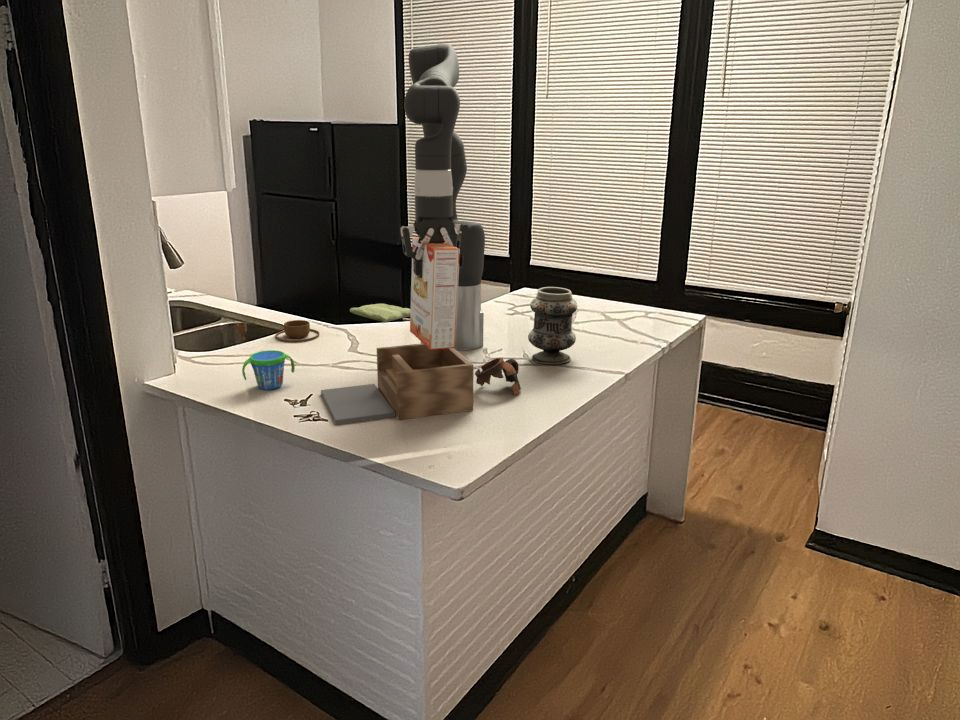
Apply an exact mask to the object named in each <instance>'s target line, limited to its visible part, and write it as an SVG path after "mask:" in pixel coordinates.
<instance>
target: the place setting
mask: <svg viewBox="0 0 960 720" xmlns="http://www.w3.org/2000/svg"><path fill="white" fill-rule="evenodd" d="M310 323H311V322H310V321H308V320H303V319H297V320H296V319H295V320H294V319H293V320H288V321H285V322H284V323H283V330H281V331H278V332H276V334H275V336H274V337H275V339H276V340H277V341H279V342H283V343H293V344H294V343H305V342H310V341H313V340H316V339H318V338H319V337H320V331H318V330H317V329H314V328H313V329H312V328H311V325H310ZM247 329H248V327H247V323H245V322H240V323H237V324H236V330H237V333H238V334H239V335H240V337H241V338H240V341H241V342H245V341H246V338H245V334H247V331H248V330H247ZM310 332H314V333H316V334H317V335H315V336H313V337H309V338H305V337H307V336H308V335H309V334H310ZM283 333H284V334H285V335H286V336H287V337H288V338H291V339H285V338H281V337H278V336H279V335H281V334H283Z"/></svg>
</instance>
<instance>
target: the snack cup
mask: <svg viewBox="0 0 960 720" xmlns="http://www.w3.org/2000/svg"><path fill="white" fill-rule="evenodd" d="M287 358H288V359H290V365H291V373H293V374H294V373H295V369H296V366H295V362H294V360H293V358H292V357H291V355H289V354H287V353H285V352H284V351H281V350H271V349H270V350H262V351H258V352H254V353H252V354H251V355H250V356H249V358H248V359H246V360H245V361H244V363H243V365H242V370H241V373H242V377H243V379H244V380H245V381H247V376H246V373H245V369H246V367H247V366H248V364H250V365H251V368H252V369H253V373H254V378H255V381H256V384H257V387H258V388H259V389H262V390H267V391H268V390H275V389H280V387H282V385H283V382H284V374H285V373H284V370H285V363H286V359H287Z"/></svg>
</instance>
